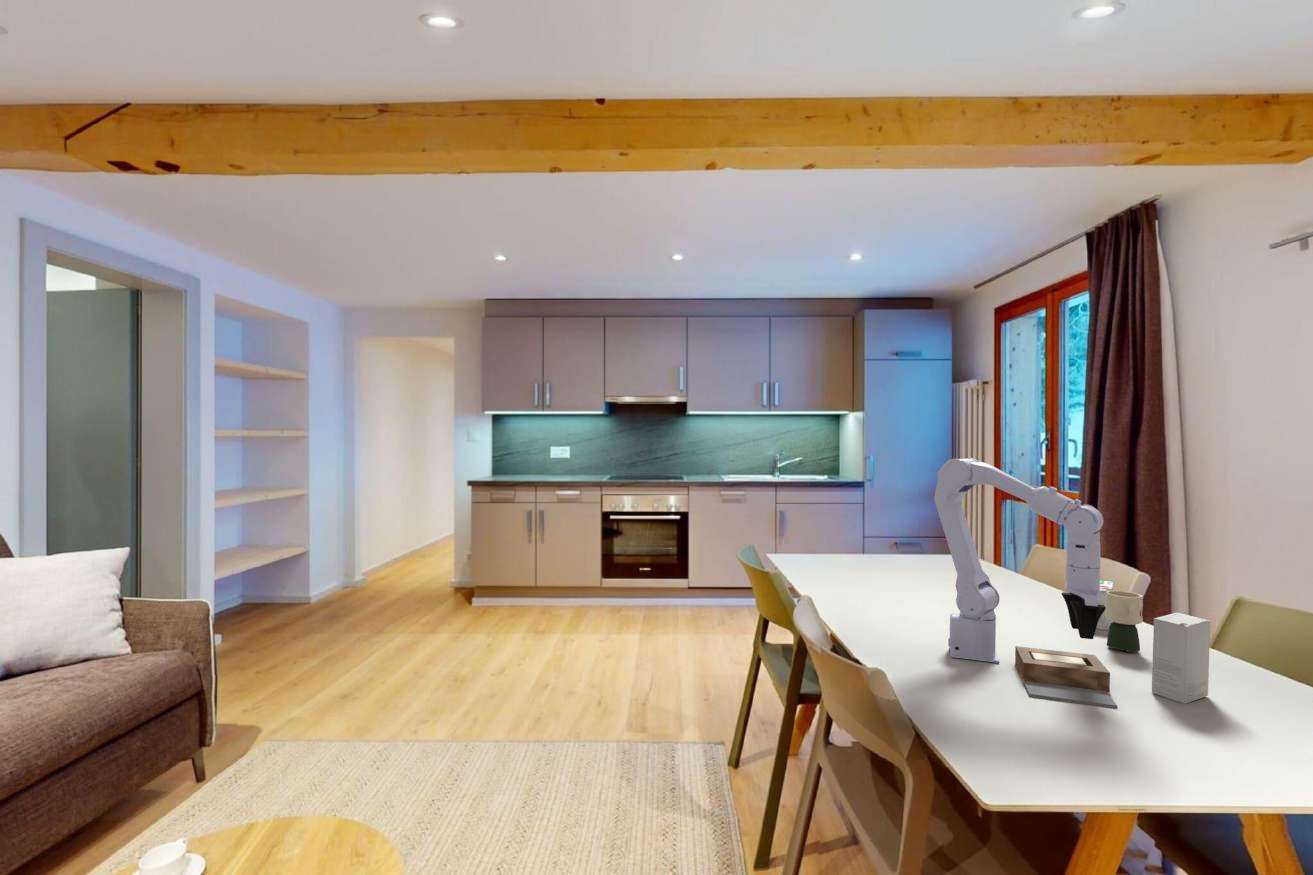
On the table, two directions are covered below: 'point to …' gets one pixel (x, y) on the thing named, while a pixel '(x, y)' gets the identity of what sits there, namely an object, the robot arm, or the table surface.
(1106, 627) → the light bulb box
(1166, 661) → the skincare box
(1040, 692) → the slate mat
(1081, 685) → the walnut board
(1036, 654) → the birch bar
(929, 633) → the table surface
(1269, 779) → the table surface
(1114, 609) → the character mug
